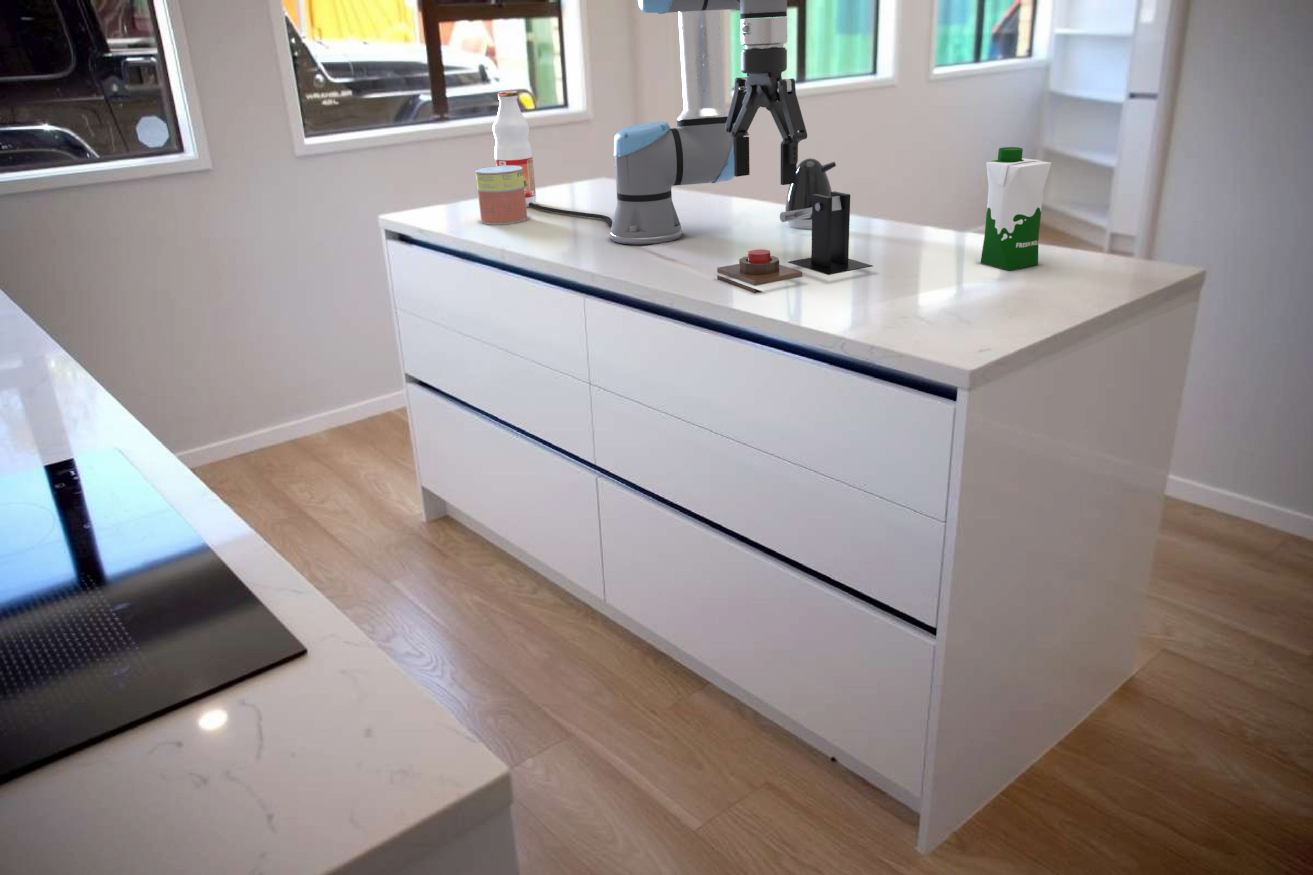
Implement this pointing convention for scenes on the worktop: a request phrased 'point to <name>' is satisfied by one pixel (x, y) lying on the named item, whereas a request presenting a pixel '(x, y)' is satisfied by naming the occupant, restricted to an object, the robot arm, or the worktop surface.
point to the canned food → (501, 194)
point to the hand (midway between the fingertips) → (764, 180)
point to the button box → (756, 273)
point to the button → (759, 256)
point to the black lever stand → (830, 237)
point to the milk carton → (1013, 210)
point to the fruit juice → (514, 141)
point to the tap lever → (807, 211)
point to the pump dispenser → (807, 189)
